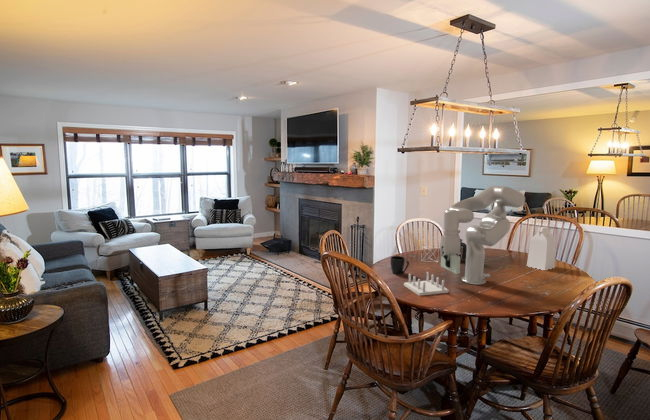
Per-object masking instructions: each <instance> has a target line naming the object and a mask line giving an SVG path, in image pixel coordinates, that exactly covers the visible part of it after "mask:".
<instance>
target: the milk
mask: <svg viewBox="0 0 650 420" xmlns="http://www.w3.org/2000/svg"><path fill="white" fill-rule="evenodd" d="M528 247H529V248H528V255H527V260H526V261H527V262H526V267H527V266H528V267H529V268H531V267H532V269H535V268H537V269H536V270H539V269H541V271H543V270H546V271H549V270H548V269H550V270H552V268H553V269H555V268H556V254H557V253H556V250H557V249H556V247H557V239H556V237H555V236H554V235H553V234H552V233H551V232H550V231H549V227H548V226H542V227H540V229H539V232H537V233H535V235H533V236H532V237H530V241H529V246H528ZM528 267H527V268H528Z"/></svg>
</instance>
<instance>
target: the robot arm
mask: <svg viewBox="0 0 650 420" xmlns="http://www.w3.org/2000/svg"><path fill="white" fill-rule="evenodd" d="M525 202H526V196H525V195H524V194H523V192H520V191H518V190H516V189H514V188H512V187H508V186H504V185H502V186H501V185H490V186H487V187H486V188H485V189H484V190H482V191H480V192H479V193H477V194H476V195H475V196H472V197H468V198H465V199H462V200H459V201H457V202H455V203H454V204H453V205H451V206H450V207H449V208H447V209H445V210H444V213H443V234H442V235H441V239H440V242H439V243H440V244H439V252H440V253H439V256H440V257H441V256H442V257H444V258H445V259H446V261H445V265H446V267H448V268H450V260H449V258H450V255H451V254H455V255H457V256H458V255H460V254H461V255H462V252H460V249H461V244H460V239H461V237H460V233H461V230H460V223H462V224H469V223H470V222H472V221H473V220H474V217H475V213H474V212H477V211H478V212H479V211H481V210H482V211H484V210H485V209H486V208H488V207H490V206H491V205H492V204H493V207H492V210H490V211H489V212H487V214H486V215H485V216H484V217H483V218H481V220H480V221H479V225H470V226H468V227H467V228H466V230H465V240H466V241H465V242H466V243H465V244H466V245H467V250H466V259H465V265H464V266H465V269H464V276H462V277H461V282H463V283H466V284H470V285H475V286H476V285H478V286H479V285H484V284H486V283H487V280H486V278H490V277H491V275H490V273H484V269H485V267H484V266H485V254H486V251H485V247H484V246H486V247H487V246H488V247H493V246H495V245H497V243H499V242H500V241H501V240H502V239H503V238H504V237H505V236H506V235H507V234H508V233H509V231H510V229H511V221H510V220H509V219H508V218H507V216H508V215H507V214H508V213H507V210H506V207H509V208H521V207H522V206H524V204H525ZM444 254H445V255H444Z"/></svg>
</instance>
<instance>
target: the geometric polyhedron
mask: <svg viewBox="0 0 650 420" xmlns="http://www.w3.org/2000/svg"><path fill="white" fill-rule="evenodd" d="M427 247H428V248H427ZM429 247H430V246H427V245H426V246H425V245H421V248H422V250H423V251H424V252H425V256H424V257H423V256H422V255H423V254H421V259H420V261H421V262H424V261H426V262H430V263H431V262H432V261H433V262H435V263H438V262H439V260H438V258H436V256H435V254H434V252H436V251H438V249H439V247H438V246H436V247H433V248H431V249H429ZM425 249H427V250H428V252H426V250H425ZM434 249H435V251H434V252H433V251H432V250H434ZM430 252H431V255H428V254H429V253H430ZM426 256H427V258H426ZM432 256H434V258H435V259H436V260H435V259H434V260H433V258H431V257H432ZM428 259H430V261H428ZM431 260H432V261H431Z"/></svg>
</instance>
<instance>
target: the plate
mask: <svg viewBox="0 0 650 420" xmlns="http://www.w3.org/2000/svg"><path fill="white" fill-rule="evenodd" d="M444 255H445V254H444ZM449 260H450V268H448V267H446V265H445V261H446V259H445V258H444V257H442V256H440V268H444V269H445V270H448V271H450V272H452V273H453V274H456V275H458V274H460V273H461V262H460V256H457V255H455V254H451V255H450V258H449Z"/></svg>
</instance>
